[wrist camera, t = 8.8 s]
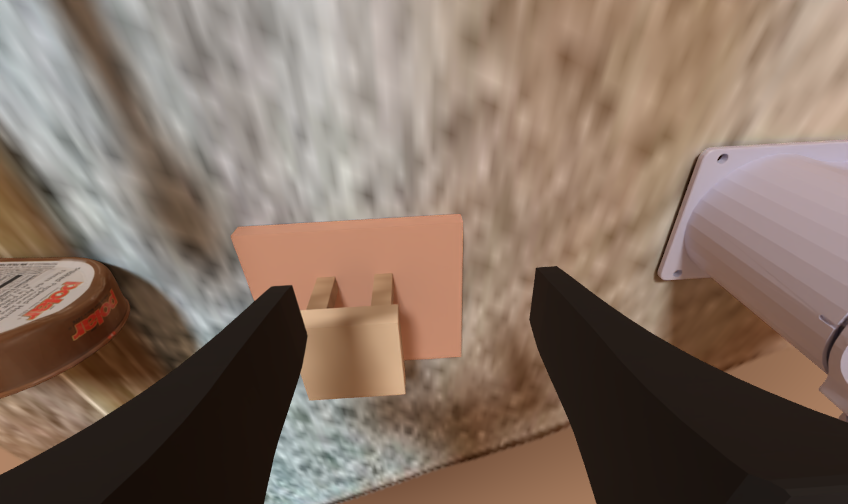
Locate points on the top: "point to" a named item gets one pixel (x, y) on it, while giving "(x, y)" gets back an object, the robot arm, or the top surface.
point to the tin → (54, 317)
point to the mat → (369, 270)
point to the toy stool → (353, 344)
